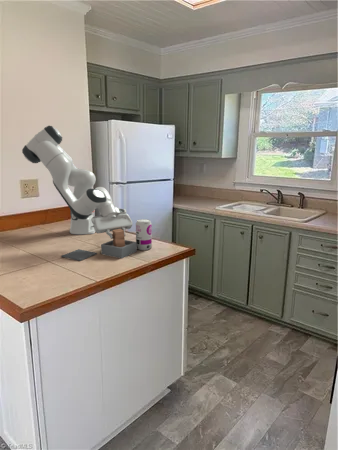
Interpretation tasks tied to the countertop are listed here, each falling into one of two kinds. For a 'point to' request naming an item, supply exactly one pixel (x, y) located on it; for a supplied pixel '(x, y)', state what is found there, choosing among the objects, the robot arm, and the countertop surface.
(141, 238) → the supplement can
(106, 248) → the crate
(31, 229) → the countertop surface
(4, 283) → the countertop surface
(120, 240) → the block
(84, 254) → the mat
